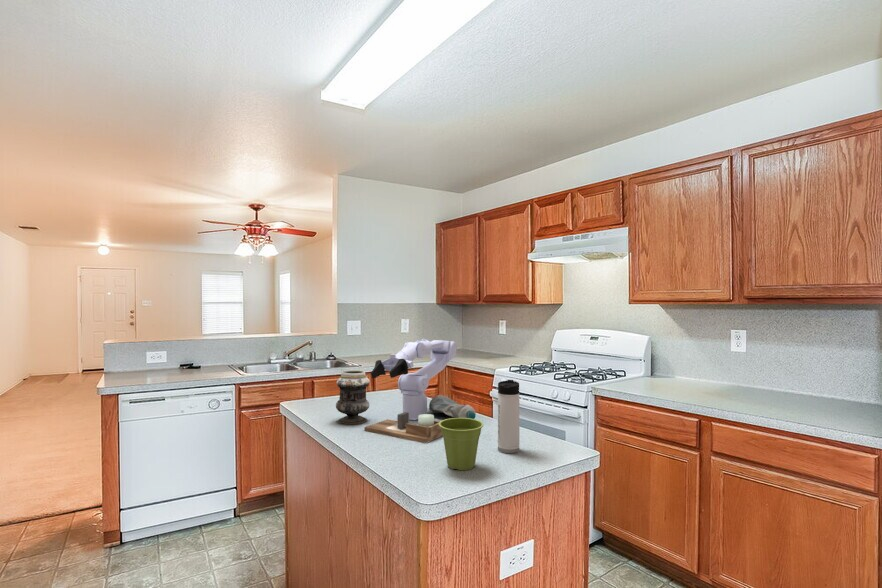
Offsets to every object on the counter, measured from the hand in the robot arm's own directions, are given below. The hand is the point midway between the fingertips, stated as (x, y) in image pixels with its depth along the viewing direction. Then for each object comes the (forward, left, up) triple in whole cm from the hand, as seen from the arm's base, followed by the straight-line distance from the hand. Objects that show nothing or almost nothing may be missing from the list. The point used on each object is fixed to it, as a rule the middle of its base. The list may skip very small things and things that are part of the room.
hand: (381, 375), depth 155 cm
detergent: (-28, +12, -19) cm, 36 cm away
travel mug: (-5, +44, -19) cm, 48 cm away
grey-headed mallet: (-3, +12, -17) cm, 21 cm away
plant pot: (+14, +39, -19) cm, 45 cm away
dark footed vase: (-4, -17, -19) cm, 26 cm away
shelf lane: (-3, +8, -19) cm, 21 cm away
